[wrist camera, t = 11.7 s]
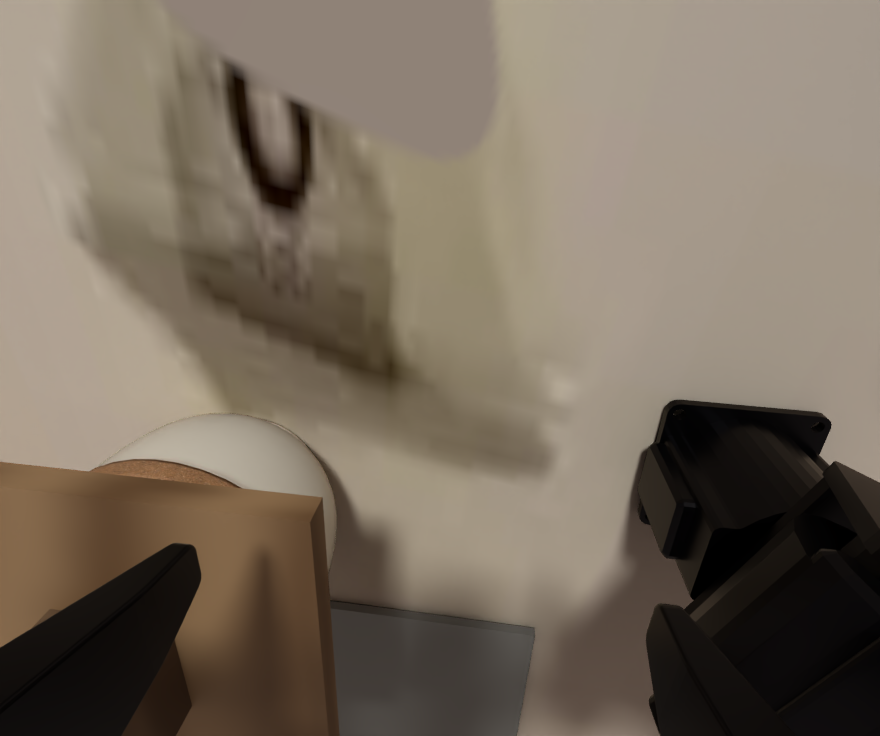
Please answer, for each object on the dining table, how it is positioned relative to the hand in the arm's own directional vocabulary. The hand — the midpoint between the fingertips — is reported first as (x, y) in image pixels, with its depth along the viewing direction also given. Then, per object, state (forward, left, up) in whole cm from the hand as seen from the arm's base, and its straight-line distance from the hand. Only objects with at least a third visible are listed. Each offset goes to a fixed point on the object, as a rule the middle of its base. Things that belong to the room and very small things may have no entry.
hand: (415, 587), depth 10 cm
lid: (+10, +8, -4) cm, 13 cm away
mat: (+5, +24, -13) cm, 28 cm away
